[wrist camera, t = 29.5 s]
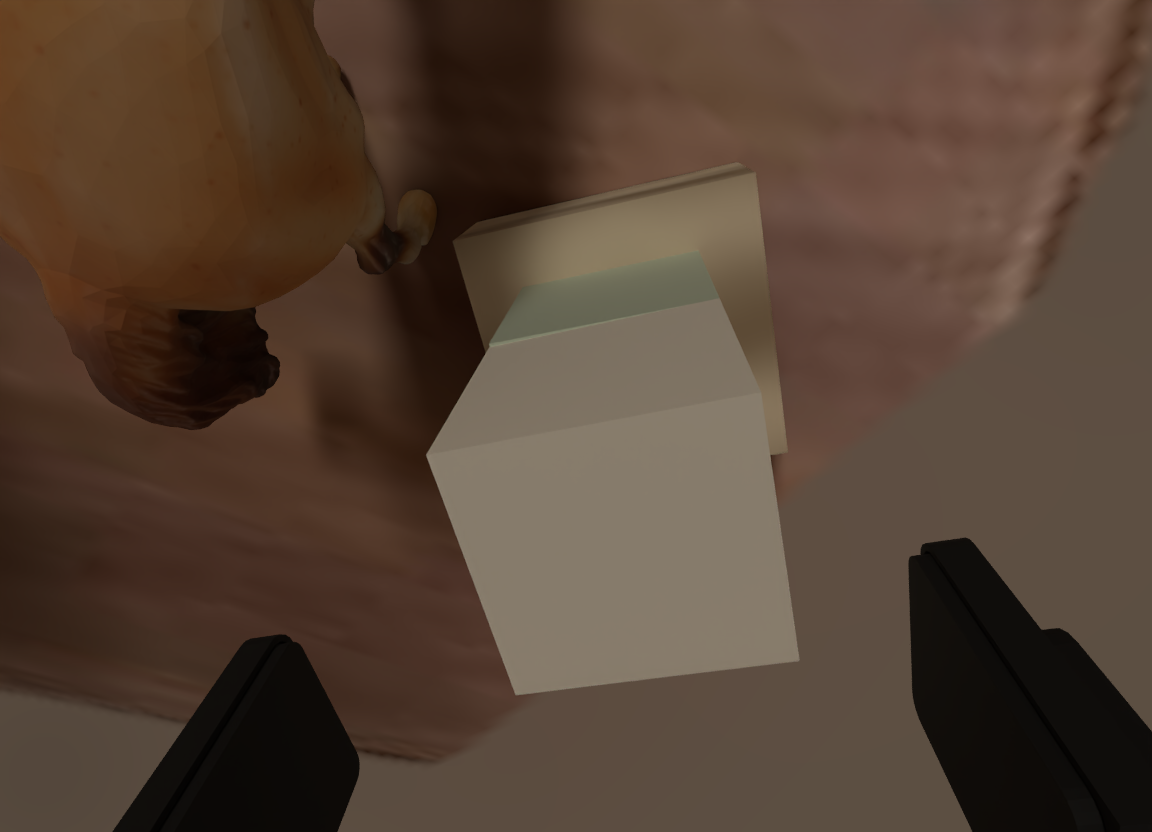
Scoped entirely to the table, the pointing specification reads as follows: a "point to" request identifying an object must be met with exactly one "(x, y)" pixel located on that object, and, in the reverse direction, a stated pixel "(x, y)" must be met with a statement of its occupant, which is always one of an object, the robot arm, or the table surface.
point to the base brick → (639, 256)
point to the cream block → (619, 503)
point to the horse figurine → (183, 186)
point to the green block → (606, 297)
